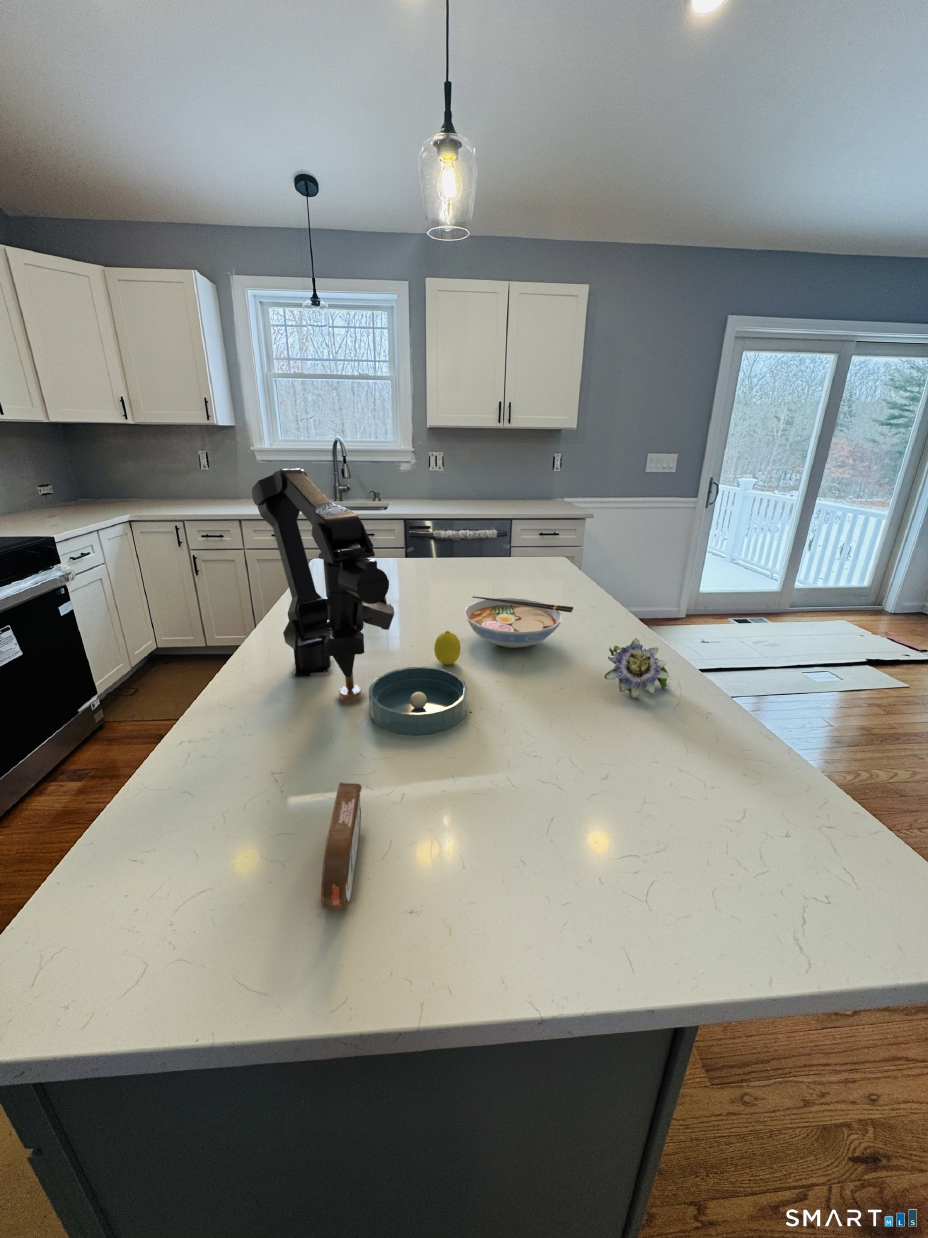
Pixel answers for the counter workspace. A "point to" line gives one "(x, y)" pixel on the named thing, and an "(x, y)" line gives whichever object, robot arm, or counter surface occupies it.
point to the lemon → (447, 648)
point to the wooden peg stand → (350, 691)
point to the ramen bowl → (514, 620)
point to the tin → (341, 847)
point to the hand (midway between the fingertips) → (348, 670)
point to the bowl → (401, 717)
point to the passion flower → (637, 668)
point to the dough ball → (418, 700)
